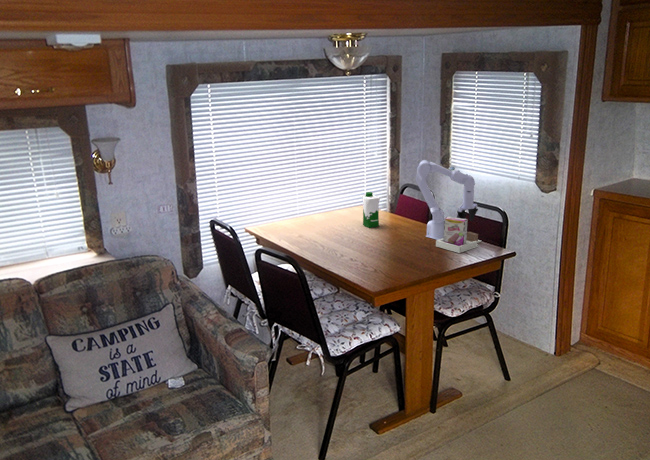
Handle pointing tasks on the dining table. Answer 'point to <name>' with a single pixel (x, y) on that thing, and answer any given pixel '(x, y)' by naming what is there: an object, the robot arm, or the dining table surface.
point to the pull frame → (470, 244)
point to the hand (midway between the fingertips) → (466, 222)
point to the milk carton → (370, 210)
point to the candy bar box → (455, 231)
